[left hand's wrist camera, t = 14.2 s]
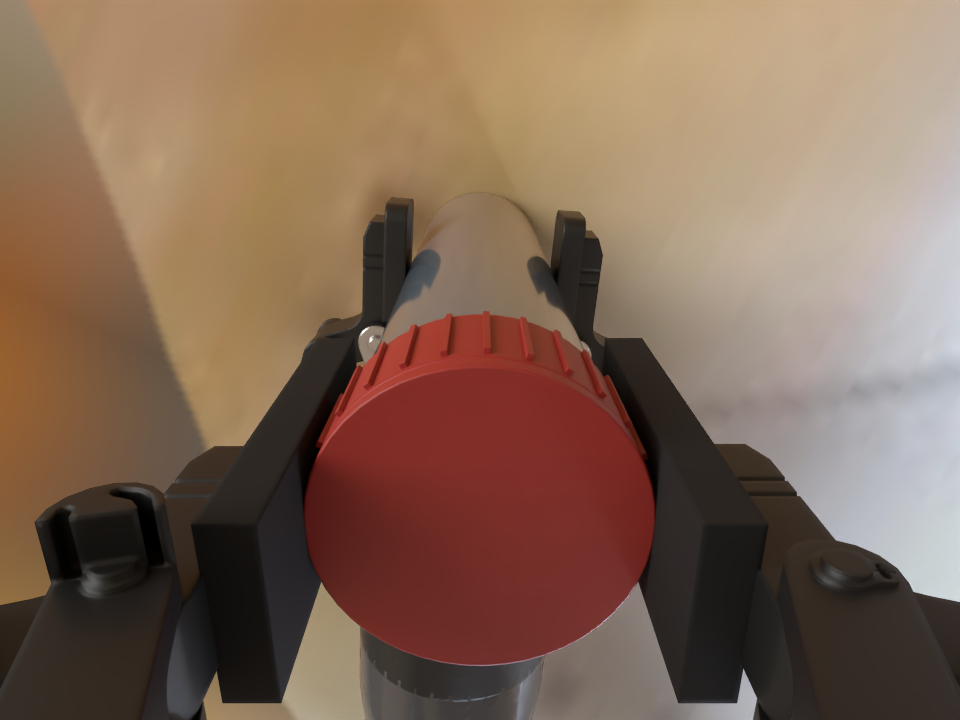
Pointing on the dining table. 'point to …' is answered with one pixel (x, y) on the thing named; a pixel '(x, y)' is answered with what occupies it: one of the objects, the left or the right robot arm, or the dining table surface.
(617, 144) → the dining table surface
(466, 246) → the bottle
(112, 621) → the left robot arm
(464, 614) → the lid
